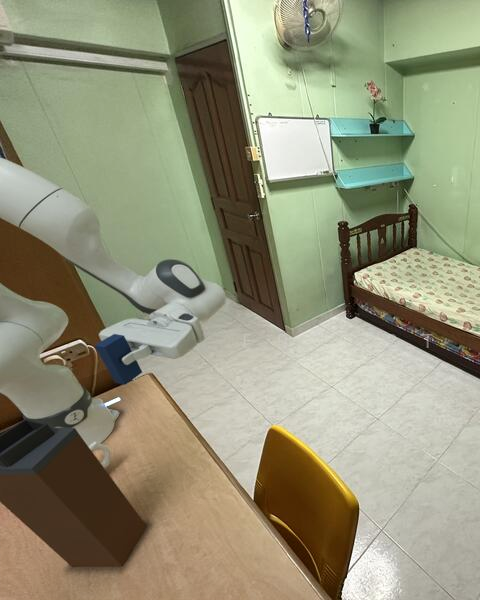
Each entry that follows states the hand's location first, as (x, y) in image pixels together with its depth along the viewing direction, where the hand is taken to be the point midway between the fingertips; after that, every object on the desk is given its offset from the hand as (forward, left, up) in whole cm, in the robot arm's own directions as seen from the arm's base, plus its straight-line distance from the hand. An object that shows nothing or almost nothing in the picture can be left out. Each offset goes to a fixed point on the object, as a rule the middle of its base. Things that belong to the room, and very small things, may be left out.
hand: (114, 360), depth 64 cm
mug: (-13, -10, -35) cm, 39 cm away
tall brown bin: (+5, -17, -35) cm, 39 cm away
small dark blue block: (0, +1, -6) cm, 6 cm away
